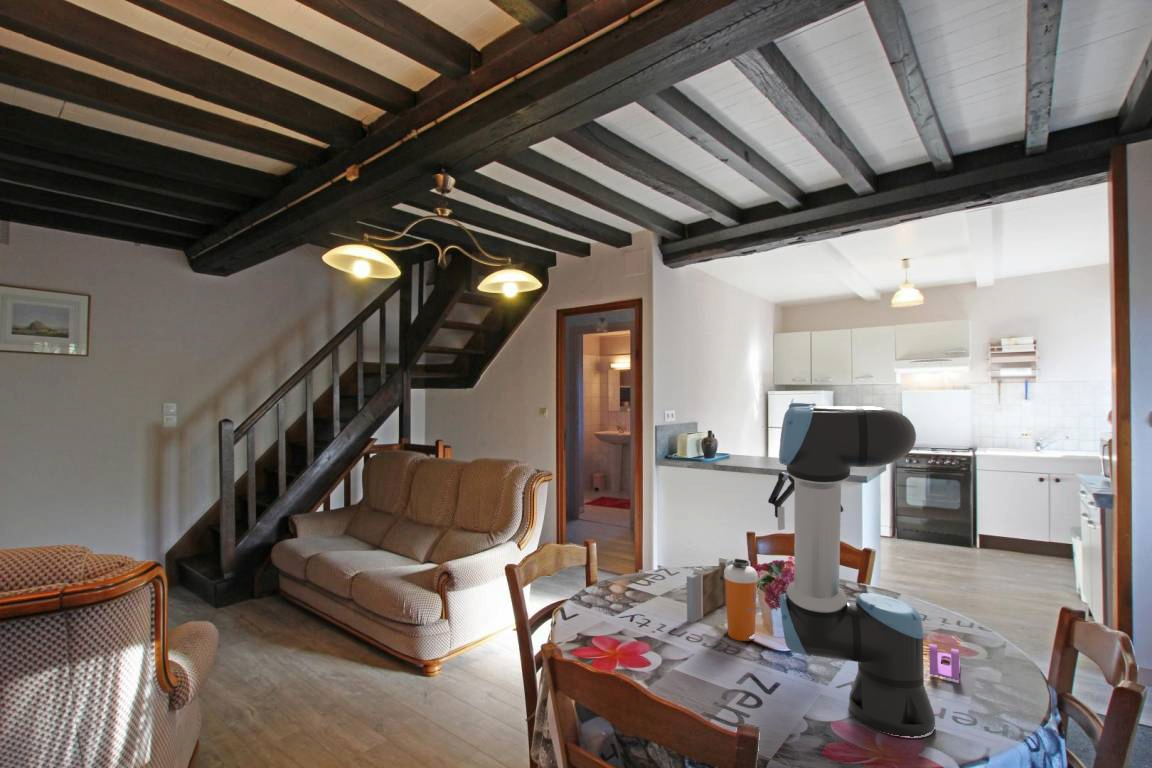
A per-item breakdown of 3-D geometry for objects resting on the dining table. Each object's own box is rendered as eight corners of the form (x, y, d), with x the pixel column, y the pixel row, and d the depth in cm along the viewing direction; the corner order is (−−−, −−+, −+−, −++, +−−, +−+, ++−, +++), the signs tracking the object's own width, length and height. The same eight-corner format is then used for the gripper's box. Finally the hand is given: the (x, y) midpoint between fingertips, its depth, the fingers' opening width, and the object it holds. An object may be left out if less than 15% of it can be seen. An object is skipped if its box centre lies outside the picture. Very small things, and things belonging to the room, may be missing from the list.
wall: (693, 623, 156) (693, 573, 157) (686, 620, 158) (685, 571, 159) (734, 600, 174) (733, 555, 174) (726, 598, 176) (726, 554, 176)
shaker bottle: (723, 640, 145) (723, 565, 146) (724, 627, 154) (724, 556, 154) (759, 644, 143) (758, 568, 143) (757, 630, 151) (757, 558, 152)
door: (704, 616, 160) (704, 577, 160) (697, 614, 162) (697, 575, 162) (727, 604, 170) (726, 567, 170) (720, 602, 171) (719, 565, 172)
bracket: (959, 684, 123) (958, 653, 123) (929, 677, 126) (929, 647, 127) (960, 662, 134) (959, 633, 134) (933, 655, 137) (932, 628, 137)
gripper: (855, 459, 146) (856, 539, 145) (768, 453, 164) (769, 524, 164) (844, 462, 141) (845, 544, 140) (755, 455, 159) (756, 528, 158)
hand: (804, 533), depth 152 cm, fingers open, 13 cm apart
